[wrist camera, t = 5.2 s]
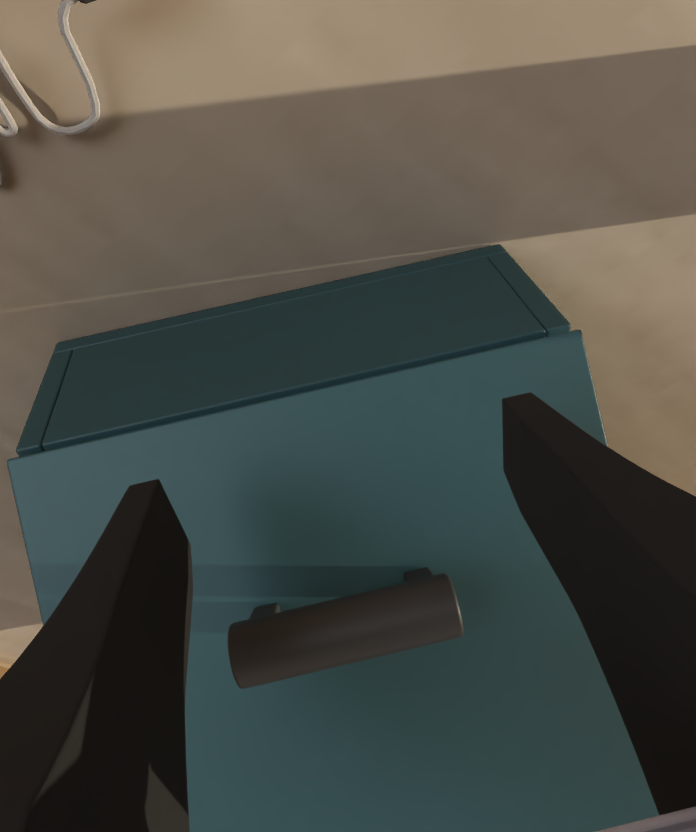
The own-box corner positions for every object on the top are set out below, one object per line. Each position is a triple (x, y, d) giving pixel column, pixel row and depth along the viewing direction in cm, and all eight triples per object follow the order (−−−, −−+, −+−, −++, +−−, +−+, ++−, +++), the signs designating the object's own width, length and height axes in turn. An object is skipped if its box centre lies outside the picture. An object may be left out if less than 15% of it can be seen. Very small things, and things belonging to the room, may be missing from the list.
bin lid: (698, 871, 18) (800, 994, 14) (140, 1011, 17) (84, 1179, 13) (573, 331, 18) (639, 305, 14) (16, 458, 17) (-74, 467, 13)
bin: (504, 523, 31) (552, 624, 27) (189, 597, 31) (184, 713, 26) (500, 242, 22) (571, 323, 18) (56, 341, 22) (13, 450, 17)
